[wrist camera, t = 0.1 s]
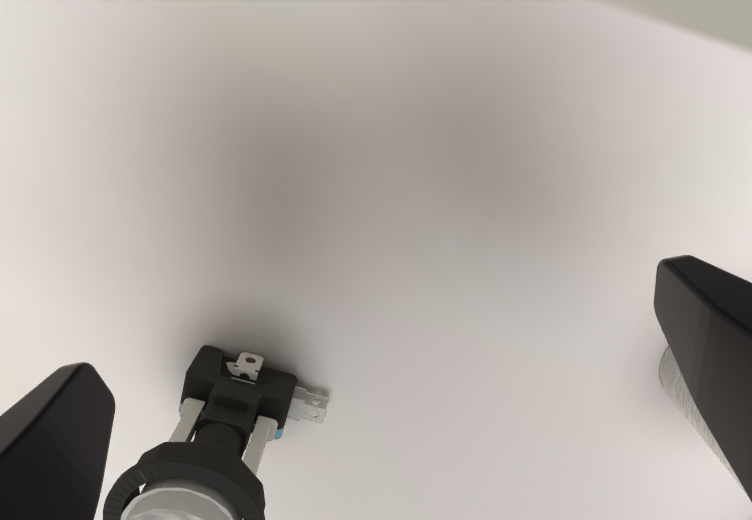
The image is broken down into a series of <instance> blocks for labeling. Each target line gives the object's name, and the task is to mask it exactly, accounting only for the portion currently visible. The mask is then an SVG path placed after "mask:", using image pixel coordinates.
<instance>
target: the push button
mask: <svg viewBox="0 0 752 520" xmlns="http://www.w3.org/2000/svg"><path fill="white" fill-rule="evenodd" d="M222 354H223V352H222V350H221V349H219V348H215V347H211V346H203V347H202V348H201V349H200V351H199V352H198V354H197V356H196V357H195V359H194V360H193V362H192V364H191V365H190V367H189V369H188V370H187V372H186V376H185V382H184V387H183V392H182V397H181V402H180V407H179V413H180V417H181V420H180V422H179V424H178V425H177V427H176V429H175V431H174V433H173V435H172V436H171V438H170V440H169V442H164V443H162V444H160V445H158V446H156V447H154V448H153V449H151V450H149V451H147V452H145V453H144V454H143V455H142V456H141V458H140V459H139V461H138V463H137V464H136V465H134V466H132V467H131V468H129V469H128V470H127V471H125V472H124V473H123V474H122V475H121V476H120V477H119V478H118V479H117V481H116V482H115V484H114V485H113V487H112V489H111V490H110V492H109V494H108V496H107V498H106V500H105V504H104V509H103V520H242V518H243V519H244V520H265V516H264V509H265V498H264V490H263V485H262V483H261V482H260V481H259V479H258V478H257V477H256V473H257V470H258V467H259V463H260V460H261V457H262V454H263V450H264V447H265V444H266V441H271V440H273V439H278V438H280V437H281V436H282V432H283V429H284V425H285V422H286V418H291V419H295V420H299V419H300V418H302V419H306V420H310V421H314V422H318V423H322V422H323V420H324V417H325V414H326V406H327V402H328V398H327V397H325V396H321V395H317V394H313V393H309V392H307V389H305V388H301V387H297V386H296V382H297V378H296V377H295V376H294V375H292V374H288V373H284V372H280V371H276V370H273V369H269V368H265V367H261V365H262V363H263V360H264V359H263V358H262V357H261V356H259V355H255V354H251V353H247V352H243V353H241V354H240V356H239V358H238V360H234V359H231V358H227V357H223V356H222ZM247 358H251V359H254V360H255V361H256V362H255V363H248V362H247V361H246V360H245V359H247ZM314 399H319V400H320V401H321V404H319V405H314V404H313V402H312V401H313V400H314ZM313 410H314V411H317V412H318V416H317V417H312V416H311V415H310V412H311V411H313ZM195 431H196V434H195V438H194V441H193V442H190V441H191V439H192V437H193V435H194V433H195ZM251 433H252V436H251V439H250V442H249V445H248V448H247V451H246V453H245V456H244V459H243V461H242V459H241V458H242V456H243V453H244V450H245V449H246V447H247V444H248V441H249V438H250V434H251ZM145 483H146V485H145V486H144V488H143V490H142V492H141V494H140V491H139V486H141V485H143V484H145Z"/></svg>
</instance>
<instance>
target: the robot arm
mask: <svg viewBox="0 0 752 520" xmlns="http://www.w3.org/2000/svg"><path fill="white" fill-rule="evenodd" d="M654 309H655V313H656V317H657V319H658V321H659V324H660V326H661V328H662V331H663V333H664V335H665V337H666V340H667V342H668V344H669V347H670V349H671V351H672V354H673V356H674V358H675V360H676V363H677V365H678V367H679V370H680V372H681V374H682V377H683V379H684V381H685V383H686V386H687V388H688V390H689V392H690V395H691V397H692V399H693V401H694V403H695V405H696V407H697V409H698V411H699V412H700V414H701V416H702V418H703V420H704V421H705V423H706V425H707V427H708V428H709V430H710V432H711V433H712V435H713V437H714V439H715V440H716V442H717V444H718V445H719V447H720V449H721V451H722V452H723V454H724V456H725V457H726V459H727V461H728V462H729V464H730V466H731V468H732V469H733V471H734V473H735V474H736V476H737V478H738V480H739V481H740V483H741V485H742V486H743V488H744V490H745V492H746V493H747V495H748V497H749V498H750V500H751V502H752V283H751V282H749V281H746V280H744V279H742V278H740V277H738V276H735V275H733V274H731V273H729V272H727V271H724V270H722V269H720V268H718V267H716V266H713V265H711V264H709V263H707V262H705V261H702V260H700V259H698V258H696V257H693V256H691V255H683V256H677V257H671V258H666V259H663V260H661V261H660V262H659V264H658V266H657V273H656V284H655V295H654ZM114 414H115V400H114V397H113V394H112V393H111V391H110V390H109V388H108V387H107V385H106V384H105V383H104V381H103V380H102V378H101V377H100V375H99V374H98V372H97V371H96V370H95V368H94V367H93V366H92V365H91V364H89V363H85V362H82V363H76V364H70V365H65V366H62V367H60V368H59V369H57V370H56V371H55V372H54V373H53V374H51V375H50V376H49V377H48V378H46V379H45V380H44V381H43V382H41V383H40V384H39V385H38V386H37V387H35V388H34V389H33V390H32V391H30V392H29V393H28V394H27V395H26V396H24V397H23V398H22V399H21V400H19V401H18V402H17V403H16V404H15V405H13V406H12V407H11V408H10V409H8V410H7V411H6V412H5V413H4V414H2V415H1V416H0V520H94V516H95V513H96V509H97V505H98V501H99V497H100V493H101V488H102V483H103V477H104V472H105V466H106V460H107V454H108V448H109V443H110V437H111V431H112V425H113V419H114Z"/></svg>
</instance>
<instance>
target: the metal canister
mask: <svg viewBox="0 0 752 520" xmlns="http://www.w3.org/2000/svg"><path fill="white" fill-rule="evenodd" d="M660 379H661V383H662V385H663V387H664V389H665V391H666V392H667V393H668V395H669V396H670V397H671V398H672V400H673V401H674V402H675V404H676V405H677V406H678V407H679V409H680V410H681V411H682V412H683V414H684V415H685V416H686V418H687V419H688V420H689V421H690V423H691V424H692V425H693V426H694V428H695V429H696V430H697V432H698V433H699V434H700V435H701V437H702V438H703V439H704V441H705V442H706V443H707V444H708V446H709V447H710V448H711V449H712V451H713V452H714V453H715V455H716V456H717V457H718V458H719V460H720V461H721V462H722V463H723V465H724V466H725V467H726V469H727V470H728V471H729V472H730V474H731V475H732V476H733V478H734V479H735V480H736V481H737V483H738V484H739V485H740V486H741V488H742V489H743V490H744V488H743V486H742V485H741V483H740V481H739V480H738V478H737V476H736V474H735V473H734V471H733V469H732V468H731V466H730V464H729V462H728V461H727V459H726V457H725V456H724V454H723V452H722V451H721V449H720V447H719V445H718V444H717V442H716V440H715V439H714V437H713V435H712V433H711V432H710V430H709V428H708V427H707V425H706V423H705V421H704V420H703V418H702V416H701V414H700V412H699V411H698V409H697V407H696V405H695V403H694V401H693V399H692V397H691V395H690V392H689V390H688V388H687V386H686V383H685V381H684V379H683V377H682V374H681V372H680V370H679V367H678V365H677V363H676V360H675V358H674V356H673V354H672V351H671V349H670V347H668V348H667V350H666V352H665V354H664V355H663V358H662V361H661V365H660ZM744 492H745V490H744ZM745 493H746V492H745ZM746 494H747V493H746Z"/></svg>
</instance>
